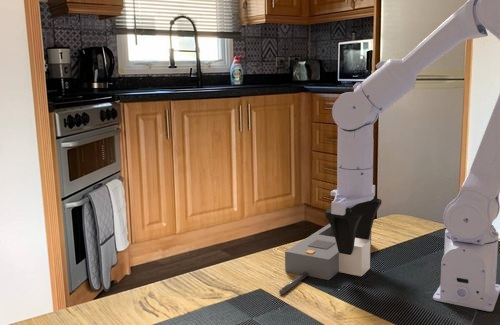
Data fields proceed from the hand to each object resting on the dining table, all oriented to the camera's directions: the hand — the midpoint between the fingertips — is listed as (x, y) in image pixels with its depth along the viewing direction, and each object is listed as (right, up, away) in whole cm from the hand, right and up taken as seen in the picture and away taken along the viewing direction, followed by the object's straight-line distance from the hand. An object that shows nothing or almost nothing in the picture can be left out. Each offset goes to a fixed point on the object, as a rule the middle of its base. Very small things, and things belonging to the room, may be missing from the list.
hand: (354, 246), depth 86 cm
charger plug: (0, -4, +1) cm, 4 cm away
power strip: (-5, -4, +3) cm, 7 cm away
